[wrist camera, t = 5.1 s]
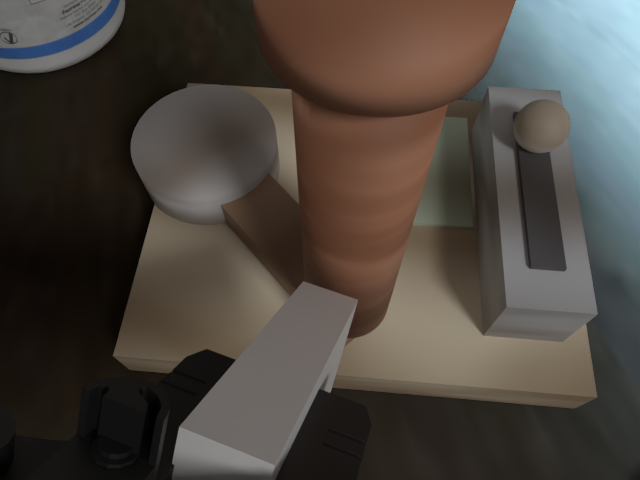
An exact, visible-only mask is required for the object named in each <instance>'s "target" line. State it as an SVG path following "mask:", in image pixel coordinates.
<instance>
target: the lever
mask: <svg viewBox="0 0 640 480" xmlns="http://www.w3.org/2000/svg"><path fill="white" fill-rule="evenodd" d="M515 1H516V0H253V7H254V14H255V22H256V30H257V37H258V43H259V46H260V50H261V53H262V55H263V57H264V59H265V61H266V63H267V64H268V66H269V67H270V69H271V70H272V71H273V73H274V74H275V75H276V76H277V77H278V78H279V79H280V80H281V81H282V82H283V83H284V84H285V85H287V86H288V87H289V88H290V89H291V92H292V107H293V122H294V136H295V151H296V165H297V180H298V194H299V204H298V203H297V202H296V201H295V200H294V199H293V198H292V197H291V196H290V195H289V194H288V193H287V192H286V191H285V189H284V188H283V187H282V186H281V185H280V184H279V183H278V182H277V179H278V175H279V167H280V163H279V153H278V144H277V135H276V128H275V124H274V121H273V118H272V116H271V114H270V113H269V111H268V110H267V108H266V107H265V106H264V105H263V104H262V103H261V102H260V101H259V100H258V99H256V98H255V97H254V96H252V95H250V94H249V93H247V92H244V91H242V90H240V89H237V88H234V87H229V86H224V85H198V86H192V87H188V88H184V89H181V90H178V91H176V92H173V93H171V94H169V95H167V96H165V97H164V98H162V99H160V100H159V101H157V102H156V103H155V104H154V105H152V106H151V107H150V108H149V109H148V110H147V111H146V112H145V113H144V115H143V116H142V117H141V118H140V120H139V122H138V123H137V125H136V127H135V129H134V132H133V135H132V139H131V157H132V161H133V164H134V166H135V168H136V170H137V172H138V174H139V176H140V178H141V180H142V182H143V184H144V186H145V188H146V190H147V192H148V194H149V196H150V197H151V199H152V200H153V202H154V203H155V204H156V205H157V206H158V208H159V209H160V210H162V211H163V212H164V213H166V214H167V215H169V216H171V217H172V218H174V219H177V220H179V221H182V222H186V223H189V224H196V225H215V224H222V223H227V224H228V225H229V226H230V228H231V229H232V230H233V231H234V232H235V233H236V234H237V236H238V237H239V238H240V239H241V240H242V241H243V242H244V244H245V245H246V246H247V247H248V248H249V249H250V250H251V251H252V253H253V254H254V255H255V256H256V257H257V258H258V259H259V261H260V262H261V263H262V264H263V265H264V266H265V267H266V269H267V270H268V271H269V272H270V273H271V274H272V275H273V277H274V278H275V279H276V280H277V281H278V282H279V283H280V285H281V286H282V287H283V288H284V289H285V290H286V291H287V293H288V294H289V295H290V296H291V295H292V294H293V293H294V292H295V290H296V289H297V288H298V287H299V286H300V285H301V283H302V282H303V281H304V282H307V283H310V284H313V285H316V286H319V287H322V288H325V289H328V290H331V291H334V292H337V293H340V294H342V295H345V296H348V297H351V298H354V299H357V300H358V302H357V306H356V309H355V312H354V316H353V319H352V322H351V326H350V329H349V333H348V336H347V339H346V343H345V346H346V345H347V344H349V343H350V342H351V341H352V340H353V339H355V338H357V337H361V336H364V335H366V334H368V333H370V332H372V331H373V330H374V329H376V328H377V327H378V326H379V325H380V323H381V322H382V321H383V319H384V317H385V315H386V313H387V309H388V306H389V303H390V299H391V296H392V293H393V289H394V286H395V283H396V279H397V276H398V272H399V269H400V266H401V262H402V259H403V256H404V252H405V249H406V245H407V242H408V239H409V235H410V232H411V229H412V225H413V222H414V219H415V215H416V212H417V208H418V205H419V202H420V198H421V195H422V192H423V188H424V185H425V181H426V178H427V175H428V171H429V168H430V165H431V161H432V158H433V154H434V151H435V148H436V144H437V141H438V138H439V134H440V131H441V128H442V124H443V121H444V117H445V114H446V111H447V107H448V104H449V103H451V102H454V101H455V100H457V99H458V98H460V97H462V96H463V95H465V94H466V93H468V92H469V91H470V90H471V89H473V88H474V87H475V86H476V85H477V84H478V83H479V82H480V81H481V80H482V79H483V77H484V76H485V75H486V74H487V72H488V70H489V69H490V67H491V66H492V63H493V61H494V58H495V56H496V53H497V50H498V48H499V45H500V42H501V39H502V37H503V34H504V31H505V29H506V26H507V23H508V20H509V18H510V15H511V12H512V9H513V7H514V4H515ZM345 346H344V347H345Z"/></svg>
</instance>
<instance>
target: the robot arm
mask: <svg viewBox="0 0 640 480" xmlns="http://www.w3.org/2000/svg"><path fill="white" fill-rule="evenodd" d="M357 302H358V300H357V299H354V298H351V297H348V296H345V295H342V294H340V293H337V292H334V291H331V290H328V289H325V288H322V287H319V286H316V285H313V284H310V283H307V282H304V281H303V282H302V283H301V285H300V286H299V287H298V288H297V289H296V290H295V292H294V293H293V294H292V295H291V296H290V298H289V299H288V300H287V301H286V302H285V303H284V305H283V306H282V307H281V308H280V309H279V310H278V312H277V313H276V314H275V315H274V316H273V317H272V319H271V320H270V321H269V322H268V323H267V324H266V326H265V327H264V328H263V329H262V330H261V332H260V333H259V334H258V335H257V336H256V337H255V339H254V340H253V341H252V342H251V343H250V344H249V346H248V347H247V348H246V349H245V350H244V351H243V353H242V354H241V355H240V356H239V357H238V358H237V360H236V359H233V358H230V357H227V356H225V355H222V354H219V353H217V352H214V351H211V350H209V349H205V350H203V351H200V352H197V353H195V354H192V355H189V356H187V357H185V358H184V359H183V360H182V361H181V362H180V363H179V364H178V365H177V366H176V367H175V368H174V369H173V371H172V372H170V373H169V374H168V375H166V376H165V377H164V378H163V379H162V380H161V383H158V384H157V385H154V384H152V383H150V382H149V381H145V380H141V379H137V378H133V377H111V378H106V379H102V380H97V381H95V382H93V383H91V384H89V385H88V386H86V387H84V388H83V391H82V398H81V406H80V414H79V422H78V430H77V434H76V435H75V436H74V437H73V438H72V439H71V440H70V441H57V440H47V439H39V438H31V437H24V436H16V435H15V433H16V420H15V418H14V417H13V416H12V415H11V413H10V412H9V411H8V410H6V409H4V408H2V407H0V480H356V478H357V475H358V471H359V467H360V464H361V460H362V456H363V453H364V449H365V446H366V442H367V438H368V435H369V431H370V427H371V422H370V419H369V415H368V412H367V409H366V406H364V405H362V404H359V403H356V402H354V401H351V400H348V399H346V398H343V397H340V396H337V395H335V394H332V393H330V392H331V389H332V386H333V383H334V379H335V376H336V373H337V369H338V366H339V363H340V359H341V356H342V353H343V349H344V346H345V343H346V339H347V336H348V333H349V329H350V326H351V322H352V319H353V316H354V312H355V309H356V306H357Z"/></svg>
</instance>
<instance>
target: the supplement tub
mask: <svg viewBox="0 0 640 480" xmlns="http://www.w3.org/2000/svg"><path fill="white" fill-rule="evenodd" d="M124 12H125V0H0V70H4V71H9V72H16V73H45V72H51V71H55V70H59V69H63V68H66V67H69V66H72V65H74V64H77V63H79V62H81V61H83V60H85V59H87V58H89V57H90V56H92V55H93V54H95V53H96V52H98V51H99V50H100V49H102V48H103V47H104V46H105V45H106V44H107V43H108V42H109V41H110V40H111V39H112V38H113V36H114V35H115V34H116V32H117V30H118V29H119V27H120V25H121V23H122V20H123V16H124Z"/></svg>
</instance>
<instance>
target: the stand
mask: <svg viewBox="0 0 640 480" xmlns="http://www.w3.org/2000/svg"><path fill="white" fill-rule="evenodd" d="M198 85H212V84H196V83H188V84H187V88H188V87H192V86H198ZM224 86H228V85H224ZM229 87H234V88H237V89H240V90H242V91H244V92H247V93H249V94H250V95H252V96H254V97H255V98H256V99H258V100H259V101H260V102H261V103H262V104H263V105H264V106H265V107H266V108H267V110H268V111H269V113H270V114H271V116H272V118H273V121H274V124H275V128H276V135H277V144H278V153H279V163H280V167H279V175H278V179H277V182H278V183H279V184H280V185H281V186H282V187H283V188H284V189H285V191H286V192H287V193H288V194H289V195H290V196H291V197H292V198H293V199H294V200H295V201H296V202H297V203H298V204H299V194H298V180H297V165H296V151H295V136H294V122H293V107H292V92H291V89H276V88H260V87H244V86H229ZM569 130H570V118H569V115H568V113H567V111H566V110H565V108H564V107H563V104H562V99H561V93H560V91H554V90H538V89H522V88H506V87H489V86H488V89H487V91H486V94H485V97H484V99H483V101H467V100H455V101H454V102H451V103H449V104H448V107H447V111H446V114H445V117H444V121H443V124H442V128H441V131H440V134H439V138H438V141H437V144H436V148H435V151H434V154H433V158H432V161H431V165H430V168H429V171H428V175H427V178H426V181H425V185H424V188H423V192H422V195H421V198H420V202H419V205H418V208H417V212H416V215H415V219H414V222H413V225H412V229H411V232H410V235H409V239H408V242H407V245H406V249H405V252H404V256H403V259H402V262H401V266H400V269H399V272H398V276H397V279H396V283H395V286H394V289H393V293H392V296H391V299H390V303H389V306H388V309H387V313H386V315H385V317H384V319H383V321H382V322H381V323H380V325H379V326H378V327H377V328H376V329H374V330H373V331H372V332H370V333H368V334H366V335H364V336H361V337H357V338H355V339H353V340H352V341H351V342H350V343H349V344H347V345H346V346H345V347H344V349H343V353H342V356H341V359H340V363H339V366H338V369H337V373H336V376H335V379H334V383H333V386H332V387H333V388H344V389H356V390H368V391H379V392H391V393H402V394H414V395H425V396H437V397H448V398H460V399H471V400H483V401H494V402H506V403H517V404H529V405H540V406H552V407H564V408H577V407H579V406H581V405H583V404H585V403H587V402H589V401H591V400H593V399H595V398H597V393H596V386H595V380H594V373H593V367H592V361H591V354H590V348H589V341H588V335H587V328H586V323H587V322H589V321H590V320H591V319H592V318H594V317H595V316H596V315H597V314H598V313H597V307H596V301H595V295H594V289H593V283H592V277H591V271H590V265H589V259H588V253H587V247H586V241H585V236H584V230H583V224H582V218H581V212H580V206H579V200H578V194H577V188H576V182H575V176H574V170H573V164H572V158H571V152H570V146H569V140H568V134H569ZM289 298H290V295H289V294H288V293H287V291H286V290H285V289H284V288H283V287H282V286H281V285H280V283H279V282H278V281H277V280H276V279H275V278H274V277H273V275H272V274H271V273H270V272H269V271H268V270H267V269H266V267H265V266H264V265H263V264H262V263H261V262H260V261H259V259H258V258H257V257H256V256H255V255H254V254H253V253H252V251H251V250H250V249H249V248H248V247H247V246H246V245H245V244H244V242H243V241H242V240H241V239H240V238H239V237H238V236H237V234H236V233H235V232H234V231H233V230H232V229H231V228H230V226H229V225H228V224H227V223H222V224H215V225H196V224H189V223H186V222H182V221H179V220H177V219H174V218H172V217H171V216H169V215H167V214H166V213H164V212H163V211H162V210H160V209H159V208H158V206H157V205H156V204H155V205H154V208H153V212H152V215H151V219H150V223H149V226H148V230H147V234H146V237H145V241H144V245H143V248H142V252H141V256H140V259H139V263H138V267H137V270H136V274H135V277H134V281H133V285H132V288H131V292H130V296H129V299H128V303H127V307H126V310H125V314H124V318H123V321H122V325H121V328H120V332H119V336H118V339H117V343H116V347H115V350H114V354H113V356H114V357H115V358H116V359H117V360H118V361H120V362H121V363H122V364H123V365H124V366H126V367H127V368H128V369H129V370H137V371H148V372H160V373H170V372H172V371H173V369H174V368H175V367H176V366H177V365H178V364H179V363H180V362H181V361H182V360H183V359H184V358H185V357H187V356H189V355H192V354H195V353H197V352H200V351H203V350H205V349H209V350H211V351H214V352H217V353H219V354H222V355H225V356H227V357H230V358H233V359H236V360H237V358H238V357H239V356H240V355H241V354H242V353H243V351H244V350H245V349H246V348H247V347H248V346H249V344H250V343H251V342H252V341H253V340H254V339H255V337H256V336H257V335H258V334H259V333H260V332H261V330H262V329H263V328H264V327H265V326H266V324H267V323H268V322H269V321H270V320H271V319H272V317H273V316H274V315H275V314H276V313H277V312H278V310H279V309H280V308H281V307H282V306H283V305H284V303H285V302H286V301H287V300H288V299H289Z"/></svg>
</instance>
